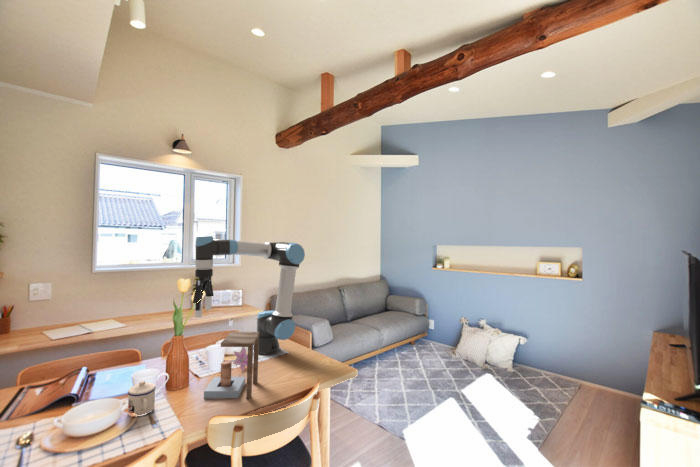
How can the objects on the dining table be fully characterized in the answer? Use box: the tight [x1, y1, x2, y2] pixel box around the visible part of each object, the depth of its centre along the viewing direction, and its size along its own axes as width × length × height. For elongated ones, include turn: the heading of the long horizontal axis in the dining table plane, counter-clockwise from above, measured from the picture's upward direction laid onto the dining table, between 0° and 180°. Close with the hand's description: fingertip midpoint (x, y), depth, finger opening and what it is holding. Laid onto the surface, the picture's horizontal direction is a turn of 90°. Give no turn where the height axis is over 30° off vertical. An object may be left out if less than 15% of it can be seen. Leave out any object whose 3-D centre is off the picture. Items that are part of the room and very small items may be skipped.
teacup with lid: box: [127, 380, 156, 415], centre depth 128 cm, size 12×9×12 cm
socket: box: [203, 376, 246, 399], centre depth 148 cm, size 14×14×3 cm
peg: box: [220, 360, 233, 387], centre depth 148 cm, size 4×4×12 cm
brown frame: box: [220, 331, 259, 400], centre depth 148 cm, size 16×13×24 cm
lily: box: [232, 347, 253, 373], centre depth 172 cm, size 12×12×10 cm
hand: (203, 313), depth 158 cm, fingers open, 13 cm apart
